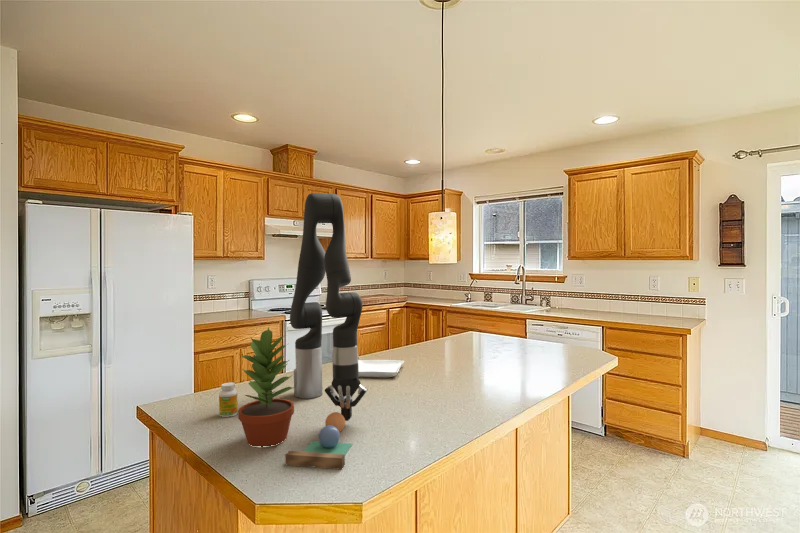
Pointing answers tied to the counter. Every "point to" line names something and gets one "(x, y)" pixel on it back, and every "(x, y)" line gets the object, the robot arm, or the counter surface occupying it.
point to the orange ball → (335, 420)
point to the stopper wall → (315, 459)
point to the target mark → (318, 448)
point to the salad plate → (379, 368)
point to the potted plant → (266, 396)
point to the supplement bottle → (228, 400)
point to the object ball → (329, 436)
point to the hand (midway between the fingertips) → (346, 419)
